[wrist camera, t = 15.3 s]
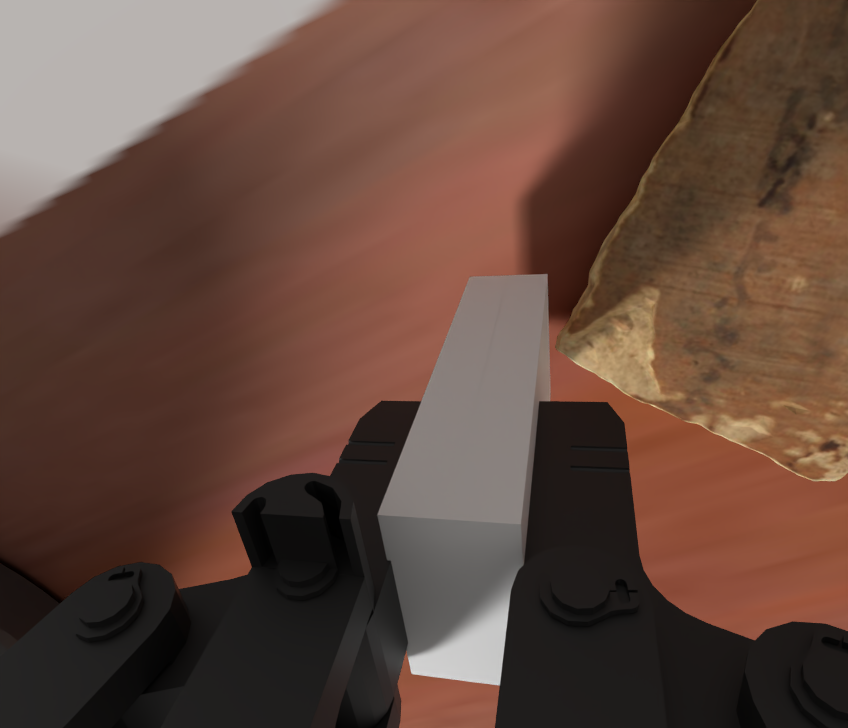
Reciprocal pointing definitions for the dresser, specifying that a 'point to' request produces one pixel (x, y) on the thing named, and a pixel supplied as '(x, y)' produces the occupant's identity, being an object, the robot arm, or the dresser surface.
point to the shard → (740, 250)
